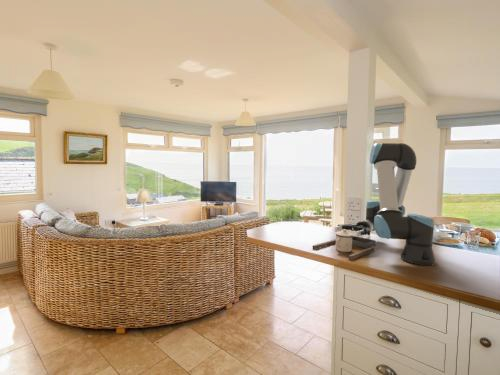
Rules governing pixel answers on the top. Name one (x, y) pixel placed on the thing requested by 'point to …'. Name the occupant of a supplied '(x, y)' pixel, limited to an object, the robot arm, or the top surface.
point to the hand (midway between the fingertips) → (345, 231)
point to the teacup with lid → (344, 241)
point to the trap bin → (363, 242)
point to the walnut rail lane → (349, 255)
